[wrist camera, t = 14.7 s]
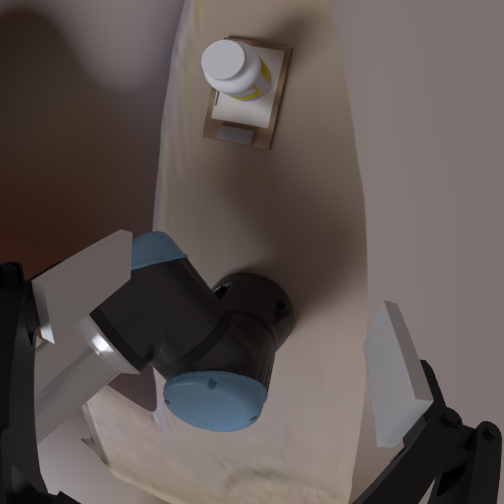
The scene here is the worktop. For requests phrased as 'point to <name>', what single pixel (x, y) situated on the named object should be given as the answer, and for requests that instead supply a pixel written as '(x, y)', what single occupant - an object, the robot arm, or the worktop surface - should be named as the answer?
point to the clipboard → (250, 103)
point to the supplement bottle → (236, 70)
